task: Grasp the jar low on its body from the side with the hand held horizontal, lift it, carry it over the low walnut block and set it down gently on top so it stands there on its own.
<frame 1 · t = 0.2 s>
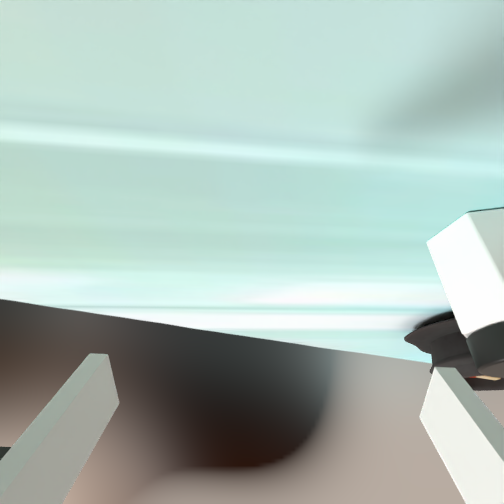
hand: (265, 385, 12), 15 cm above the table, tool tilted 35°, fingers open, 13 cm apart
casserole: (475, 326, 47), on the table
jar: (476, 233, 27), on the table
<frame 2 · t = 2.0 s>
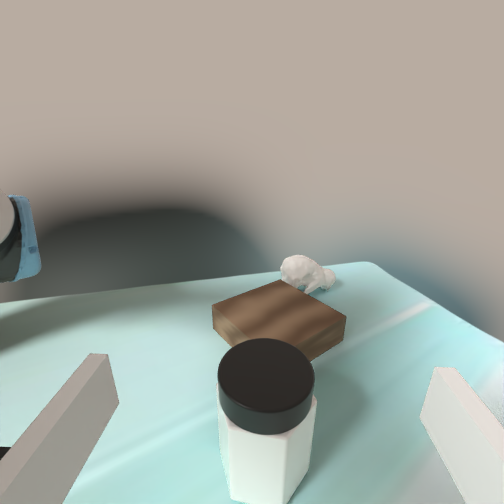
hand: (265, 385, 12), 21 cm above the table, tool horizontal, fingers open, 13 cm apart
white animal figurine: (308, 293, 59), on the table
walnut block: (275, 336, 47), on the table
jar: (263, 461, 28), on the table
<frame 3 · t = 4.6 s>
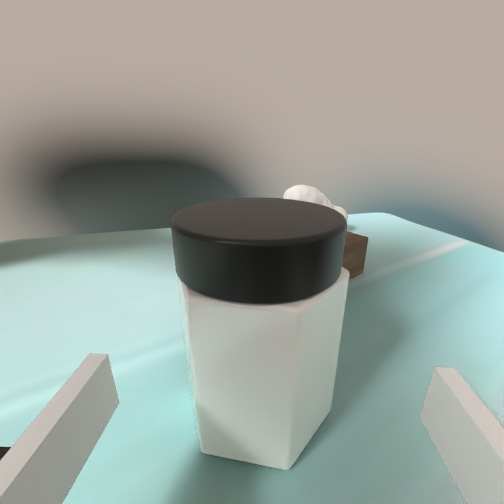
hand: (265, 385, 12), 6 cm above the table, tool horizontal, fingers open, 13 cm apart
white animal figurine: (315, 236, 49), on the table
walnut block: (276, 271, 36), on the table
jar: (257, 401, 18), on the table
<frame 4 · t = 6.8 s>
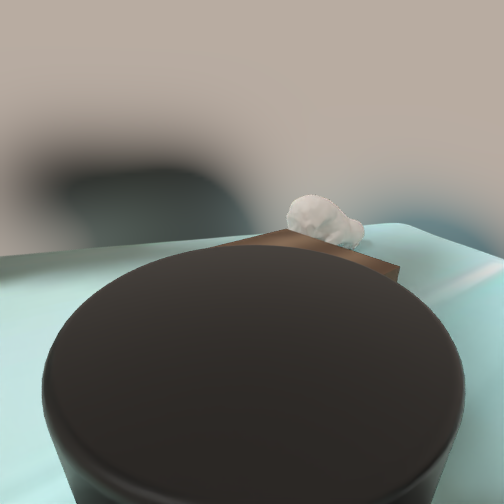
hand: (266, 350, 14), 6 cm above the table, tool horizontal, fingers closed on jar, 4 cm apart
white animal figurine: (326, 253, 42), on the table
walnut block: (282, 305, 29), on the table
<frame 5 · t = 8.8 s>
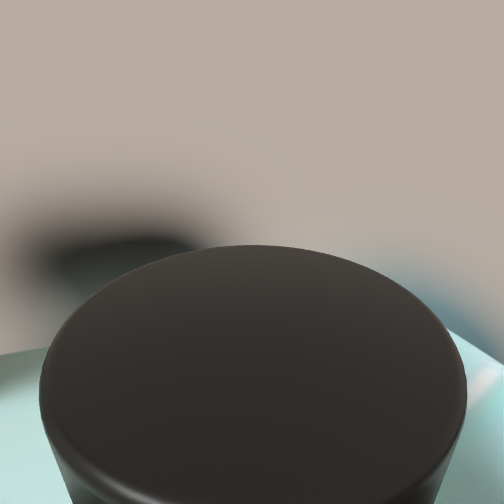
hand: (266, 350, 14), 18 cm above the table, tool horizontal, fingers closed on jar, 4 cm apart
when the fingers open (12 cm above the table, at t = 11.2 s): jar drops 1 cm, resting on walnut block.
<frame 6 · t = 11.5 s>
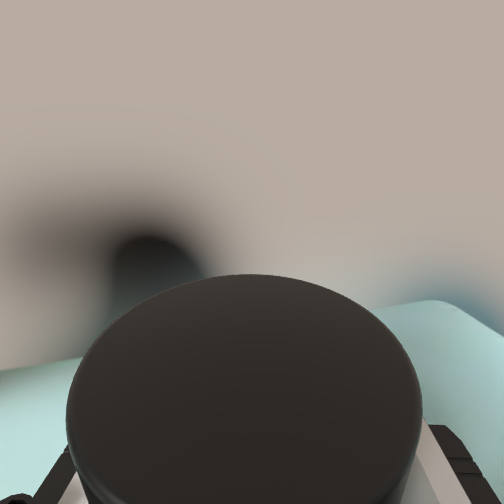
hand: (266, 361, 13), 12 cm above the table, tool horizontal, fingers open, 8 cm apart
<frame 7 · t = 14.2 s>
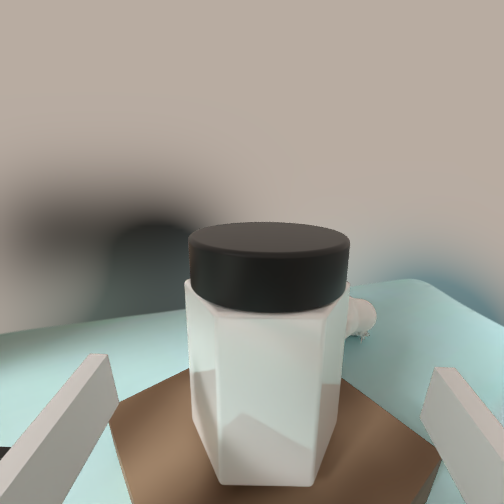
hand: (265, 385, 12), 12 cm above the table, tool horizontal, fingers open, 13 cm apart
white animal figurine: (326, 343, 32), on the table
walnut block: (260, 480, 20), on the table, touching jar
jar: (264, 425, 18), point 5 cm above the table, touching walnut block
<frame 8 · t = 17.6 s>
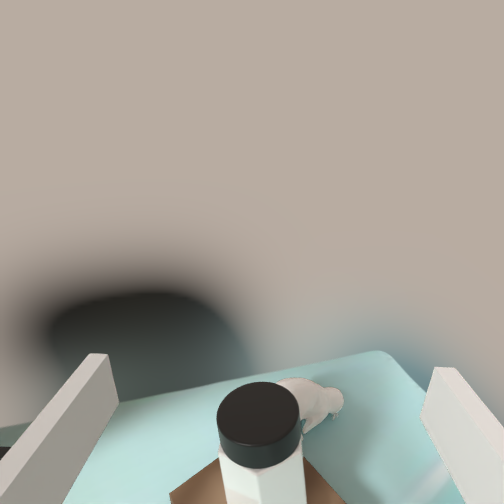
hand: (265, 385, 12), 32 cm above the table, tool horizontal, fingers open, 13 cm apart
white animal figurine: (308, 419, 45), on the table
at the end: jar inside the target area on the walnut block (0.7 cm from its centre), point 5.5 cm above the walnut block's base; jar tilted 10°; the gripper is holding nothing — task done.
